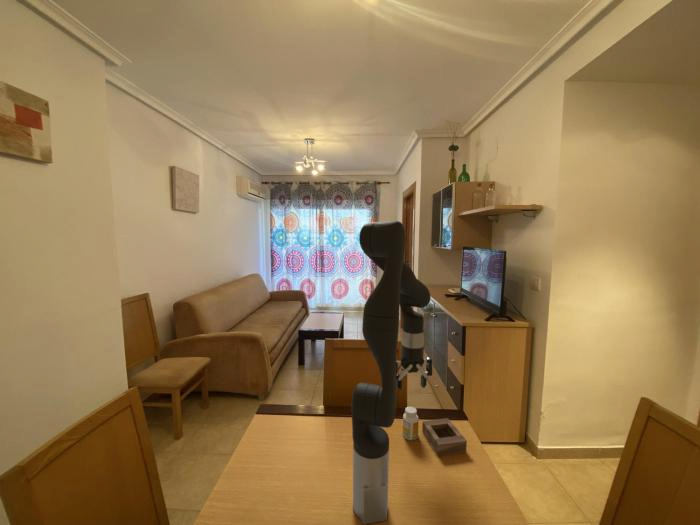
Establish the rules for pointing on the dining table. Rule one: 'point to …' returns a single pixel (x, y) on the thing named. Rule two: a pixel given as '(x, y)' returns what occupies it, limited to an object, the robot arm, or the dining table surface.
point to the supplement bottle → (410, 423)
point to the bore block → (444, 437)
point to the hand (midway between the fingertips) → (411, 387)
